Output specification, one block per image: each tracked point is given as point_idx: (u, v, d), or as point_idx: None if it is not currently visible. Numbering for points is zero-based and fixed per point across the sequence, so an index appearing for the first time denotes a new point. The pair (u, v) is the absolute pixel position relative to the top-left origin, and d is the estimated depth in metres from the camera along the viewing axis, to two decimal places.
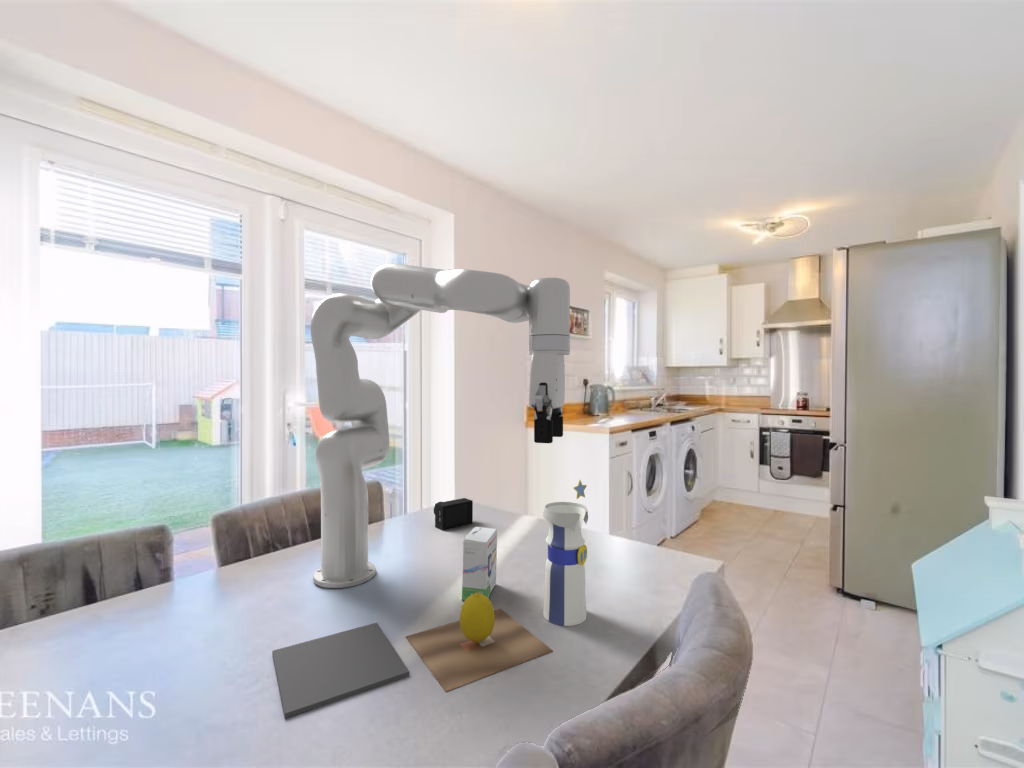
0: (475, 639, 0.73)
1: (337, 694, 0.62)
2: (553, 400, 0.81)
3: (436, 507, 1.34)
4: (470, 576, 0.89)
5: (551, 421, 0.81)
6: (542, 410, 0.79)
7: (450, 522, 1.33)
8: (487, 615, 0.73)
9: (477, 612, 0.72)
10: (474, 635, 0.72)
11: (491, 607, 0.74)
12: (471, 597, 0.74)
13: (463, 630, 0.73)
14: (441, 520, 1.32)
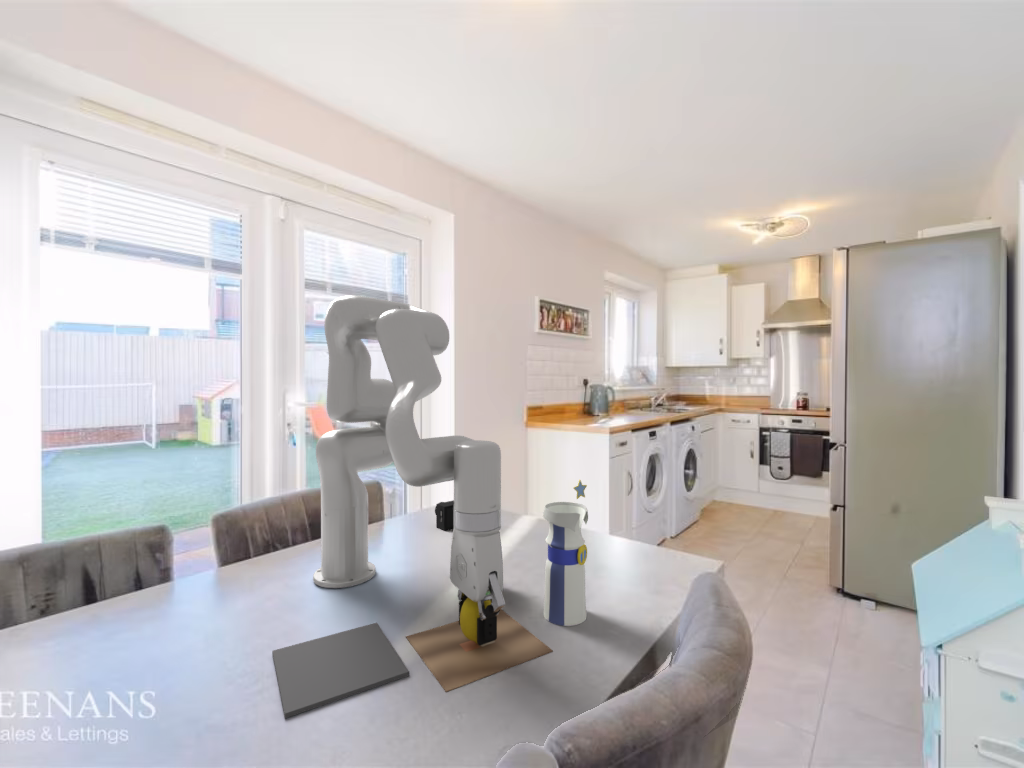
0: (475, 639, 0.73)
1: (337, 694, 0.62)
2: (502, 588, 0.72)
3: (437, 507, 1.34)
4: None
5: None
6: (497, 611, 0.70)
7: (452, 523, 1.33)
8: None
9: (477, 612, 0.72)
10: (474, 635, 0.72)
11: None
12: None
13: (463, 630, 0.73)
14: (443, 520, 1.32)
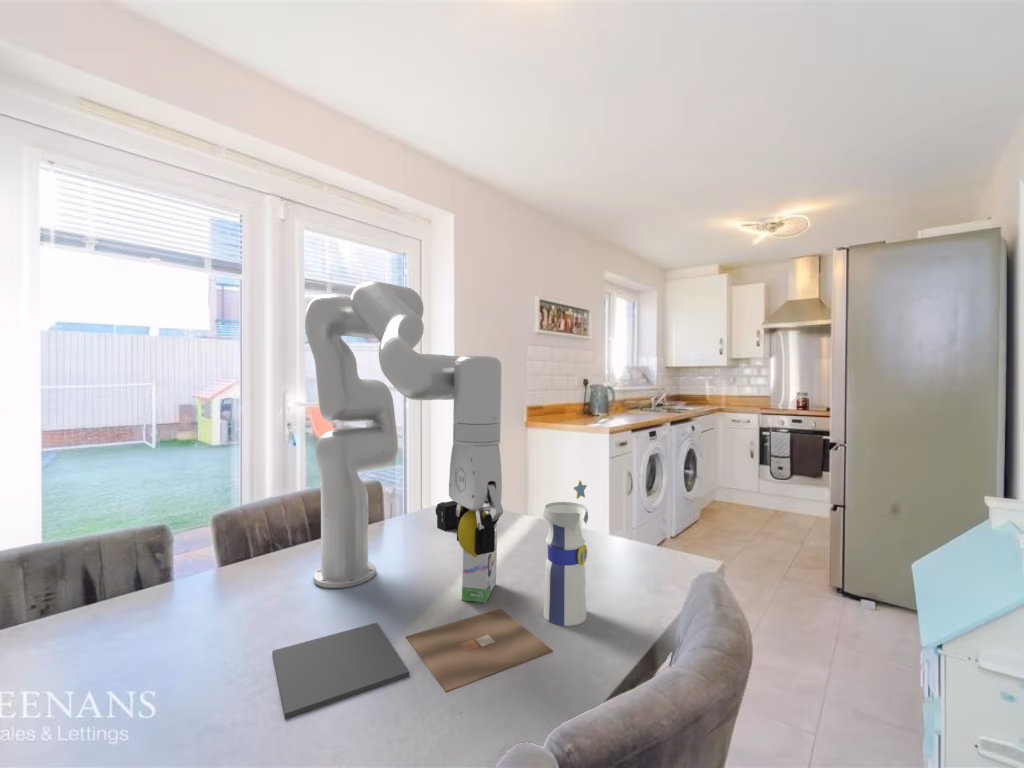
0: (473, 551, 0.73)
1: (337, 694, 0.62)
2: (500, 499, 0.72)
3: (438, 508, 1.33)
4: (470, 576, 0.89)
5: (493, 527, 0.73)
6: (495, 520, 0.70)
7: (452, 523, 1.33)
8: None
9: (475, 524, 0.72)
10: (472, 546, 0.72)
11: None
12: (469, 511, 0.74)
13: (461, 542, 0.73)
14: (443, 521, 1.31)
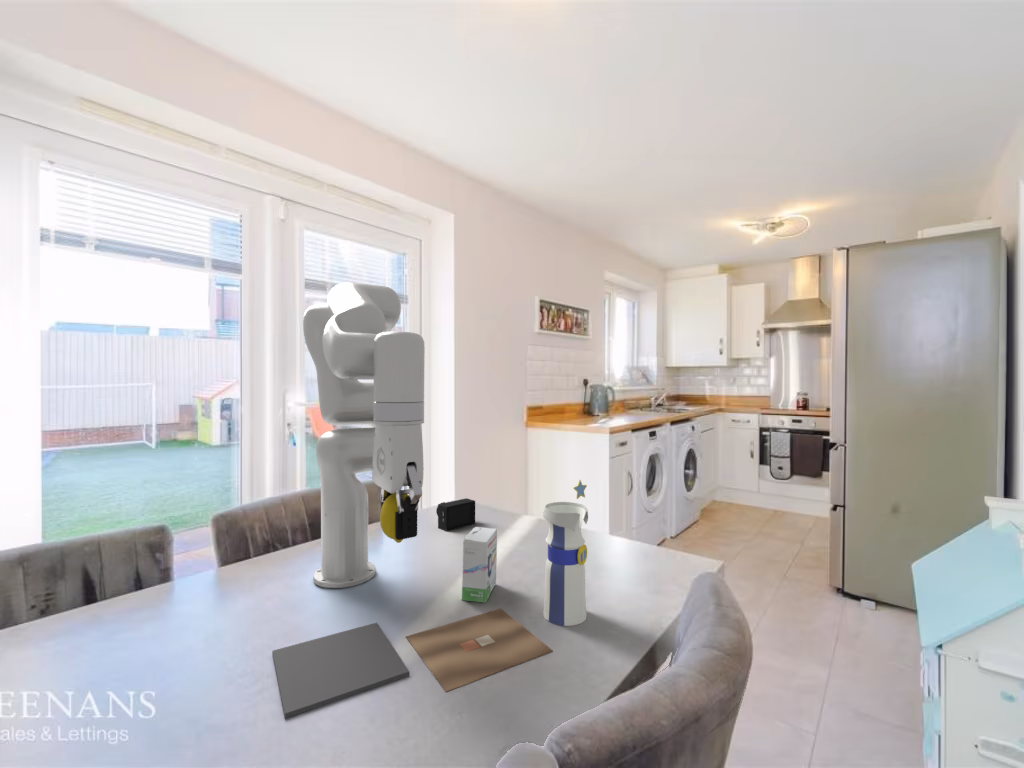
0: (394, 536, 0.69)
1: (337, 694, 0.62)
2: (422, 481, 0.69)
3: (439, 508, 1.33)
4: (470, 576, 0.89)
5: (416, 510, 0.70)
6: (415, 503, 0.67)
7: (453, 523, 1.33)
8: None
9: (396, 507, 0.69)
10: (393, 531, 0.69)
11: None
12: (392, 494, 0.71)
13: (382, 527, 0.70)
14: (445, 521, 1.31)
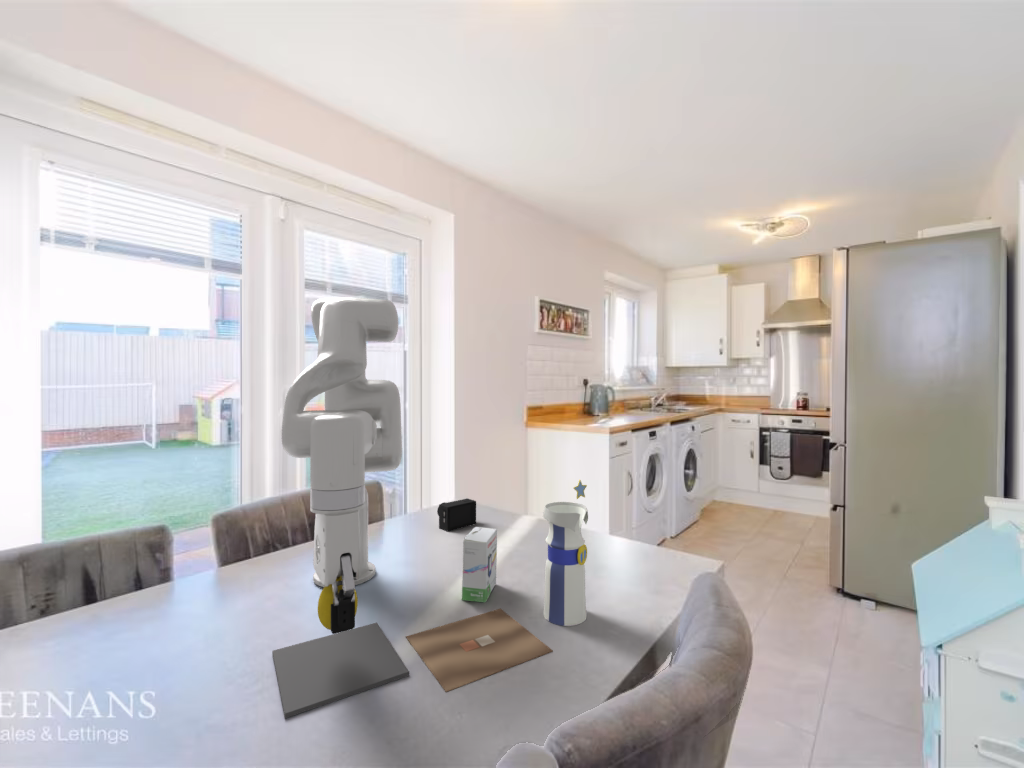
0: None
1: (337, 694, 0.62)
2: (358, 572, 0.66)
3: (440, 508, 1.33)
4: (470, 576, 0.89)
5: (353, 601, 0.67)
6: (350, 596, 0.64)
7: (455, 523, 1.32)
8: None
9: (332, 598, 0.67)
10: (329, 623, 0.66)
11: None
12: None
13: (319, 618, 0.67)
14: (446, 521, 1.31)
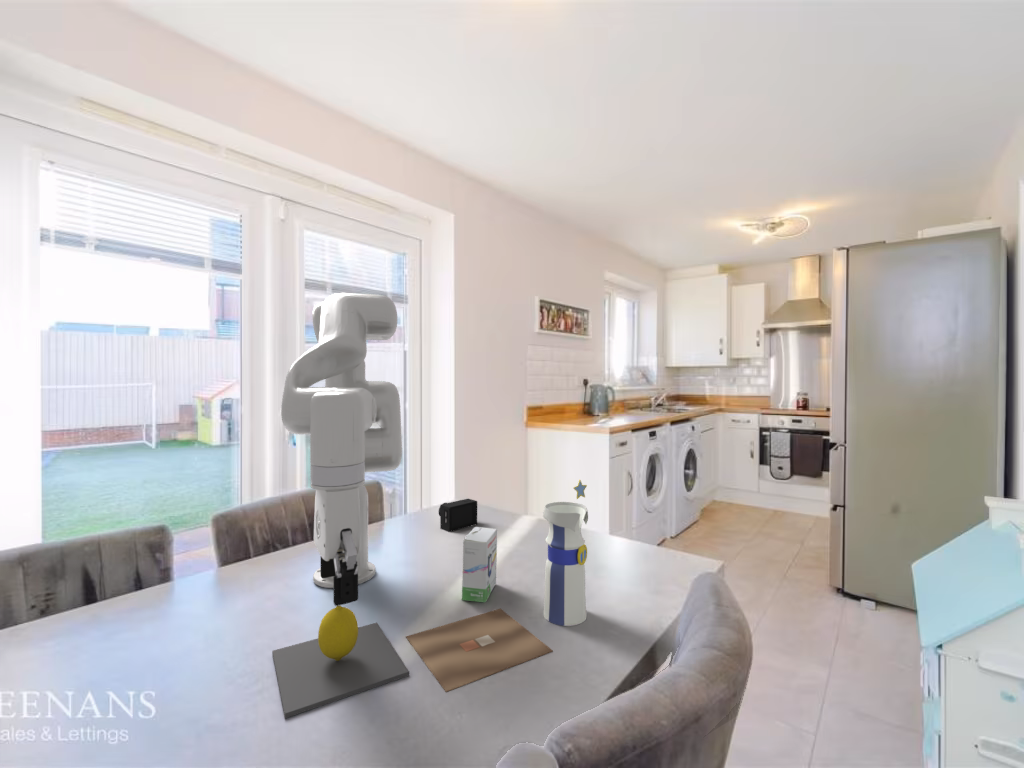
0: (331, 656, 0.67)
1: (337, 694, 0.62)
2: (358, 547, 0.66)
3: (442, 508, 1.33)
4: (470, 576, 0.89)
5: (356, 574, 0.66)
6: (353, 567, 0.63)
7: (456, 523, 1.32)
8: (344, 631, 0.67)
9: (332, 627, 0.67)
10: (329, 652, 0.67)
11: (352, 622, 0.69)
12: (331, 610, 0.69)
13: (319, 646, 0.68)
14: (447, 521, 1.31)
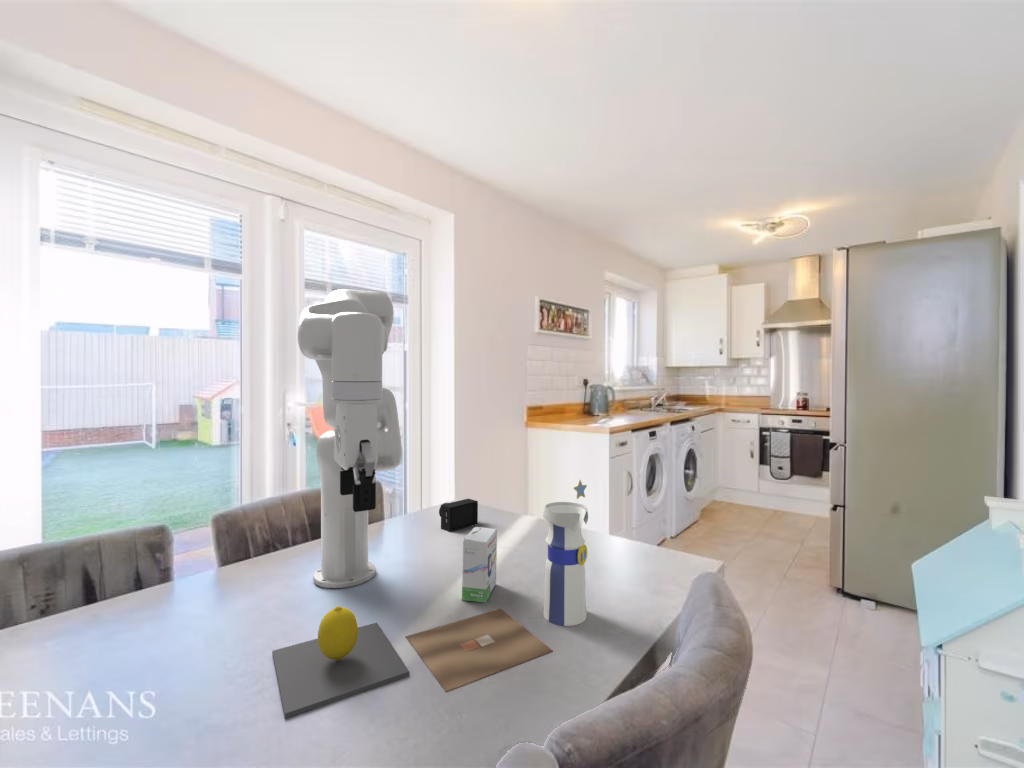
0: (331, 657, 0.67)
1: (337, 694, 0.62)
2: (376, 459, 0.70)
3: (442, 508, 1.33)
4: (470, 576, 0.89)
5: (374, 484, 0.70)
6: (372, 474, 0.67)
7: (457, 524, 1.32)
8: (344, 631, 0.67)
9: (332, 628, 0.67)
10: (328, 653, 0.67)
11: (351, 622, 0.68)
12: (330, 611, 0.69)
13: (319, 647, 0.68)
14: (448, 521, 1.31)
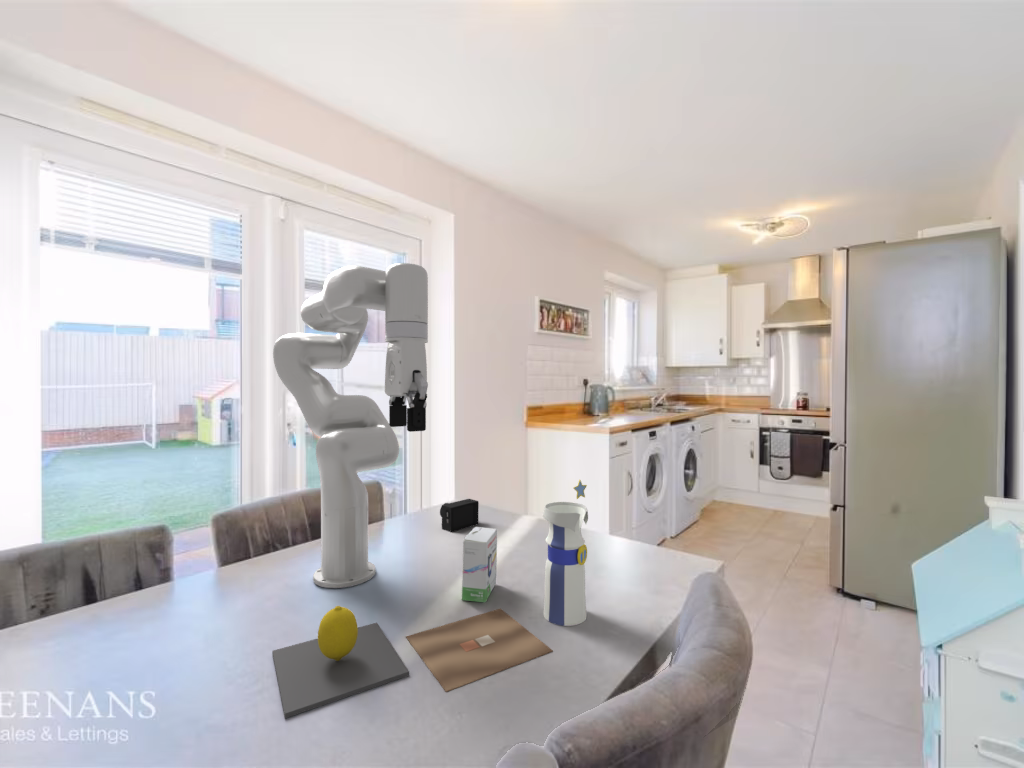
0: (330, 657, 0.67)
1: (337, 694, 0.62)
2: None
3: (443, 509, 1.32)
4: (470, 576, 0.89)
5: (424, 408, 0.81)
6: (424, 397, 0.79)
7: (458, 524, 1.32)
8: (343, 631, 0.67)
9: (331, 628, 0.67)
10: (328, 652, 0.67)
11: (351, 622, 0.69)
12: (330, 611, 0.69)
13: (319, 646, 0.68)
14: (449, 522, 1.31)
